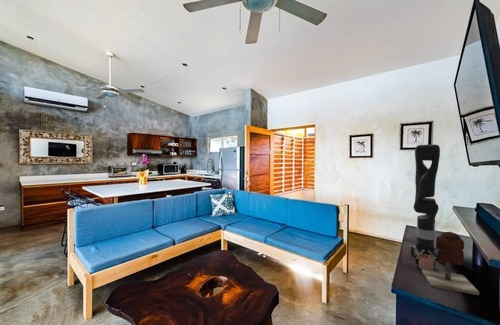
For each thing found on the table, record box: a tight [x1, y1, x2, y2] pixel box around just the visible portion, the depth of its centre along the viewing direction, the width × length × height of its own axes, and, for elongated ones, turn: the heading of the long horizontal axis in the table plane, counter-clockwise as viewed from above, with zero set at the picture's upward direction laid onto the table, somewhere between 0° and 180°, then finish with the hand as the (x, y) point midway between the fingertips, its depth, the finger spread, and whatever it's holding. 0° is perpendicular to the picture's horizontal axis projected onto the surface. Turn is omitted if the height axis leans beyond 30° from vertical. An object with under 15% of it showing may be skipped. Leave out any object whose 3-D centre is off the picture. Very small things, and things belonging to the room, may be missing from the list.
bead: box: [417, 254, 435, 270], centre depth 119 cm, size 6×6×6 cm
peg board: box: [421, 262, 480, 296], centre depth 105 cm, size 14×17×10 cm
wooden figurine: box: [435, 231, 465, 266], centre depth 122 cm, size 12×6×18 cm, turn 77°
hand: (424, 265), depth 119 cm, fingers closed on bead, 6 cm apart
